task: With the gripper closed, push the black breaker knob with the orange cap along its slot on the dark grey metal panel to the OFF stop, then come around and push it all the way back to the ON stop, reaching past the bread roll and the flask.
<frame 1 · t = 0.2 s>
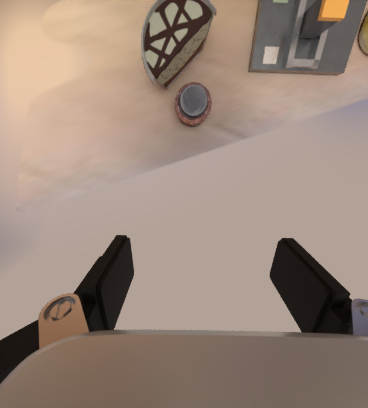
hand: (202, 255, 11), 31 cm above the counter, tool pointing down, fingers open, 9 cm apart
food container: (172, 56, 32), on the counter
panel: (302, 32, 30), on the counter
supplement bottle: (191, 111, 35), on the counter
lever: (321, 15, 26), point 5 cm above the counter, slide at 0.0 cm
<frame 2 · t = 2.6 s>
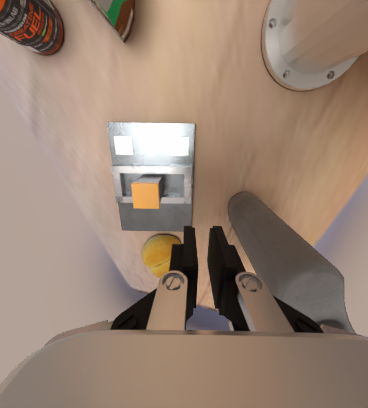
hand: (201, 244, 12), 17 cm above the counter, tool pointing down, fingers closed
bread roll: (166, 251, 34), on the counter
panel: (155, 181, 28), on the counter
supplement bottle: (42, 27, 21), on the counter
lever: (150, 189, 23), point 5 cm above the counter, slide at 0.0 cm
flask: (251, 227, 31), on the counter
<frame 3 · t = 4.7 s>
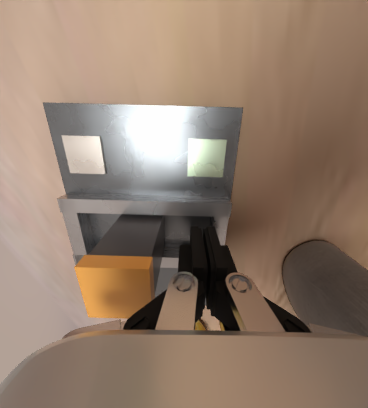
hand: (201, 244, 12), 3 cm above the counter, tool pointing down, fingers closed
panel: (153, 219, 15), on the counter
lever: (134, 254, 11), point 5 cm above the counter, slide at 0.4 cm, touching gripper
flask: (316, 292, 18), on the counter
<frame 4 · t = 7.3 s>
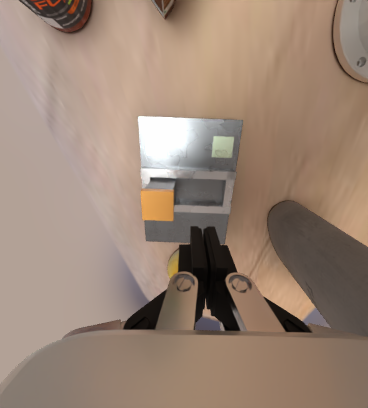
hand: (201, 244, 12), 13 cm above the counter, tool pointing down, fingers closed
bread roll: (193, 264, 30), on the counter
panel: (187, 186, 24), on the counter
lever: (161, 196, 20), point 5 cm above the counter, slide at 3.0 cm
flask: (290, 239, 27), on the counter
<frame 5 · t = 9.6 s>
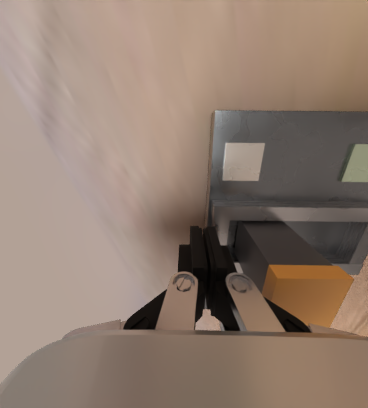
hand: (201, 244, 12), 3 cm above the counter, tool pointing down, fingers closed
panel: (274, 224, 15), on the counter
lever: (274, 261, 10), point 5 cm above the counter, slide at 2.2 cm, touching gripper
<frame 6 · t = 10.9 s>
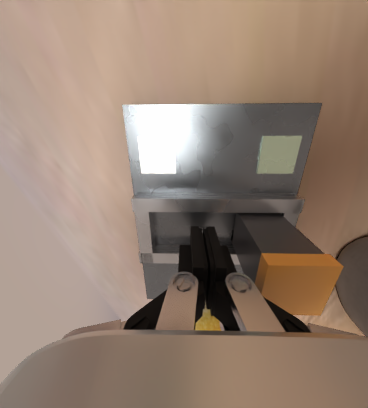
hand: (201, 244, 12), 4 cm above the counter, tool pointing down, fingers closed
bread roll: (217, 319, 21), on the counter
panel: (210, 217, 15), on the counter
lever: (269, 251, 11), point 5 cm above the counter, slide at -3.2 cm, touching gripper, panel
flask: (366, 288, 18), on the counter
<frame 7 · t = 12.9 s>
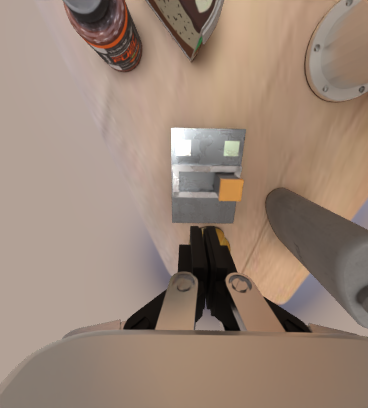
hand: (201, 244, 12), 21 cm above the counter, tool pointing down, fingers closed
food container: (185, 13, 23), on the counter
bread roll: (208, 243, 37), on the counter
panel: (204, 178, 32), on the counter
supplement bottle: (122, 49, 25), on the counter
lever: (226, 185, 27), point 5 cm above the counter, slide at -3.0 cm
flask: (284, 219, 35), on the counter
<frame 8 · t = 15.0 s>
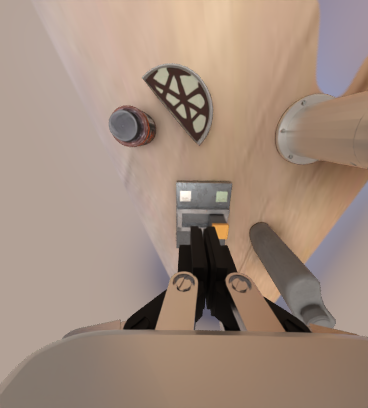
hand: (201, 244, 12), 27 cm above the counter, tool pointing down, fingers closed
food container: (187, 107, 33), on the counter
panel: (201, 215, 41), on the counter
supplement bottle: (142, 129, 34), on the counter
lever: (217, 225, 37), point 5 cm above the counter, slide at -3.0 cm
flask: (264, 245, 44), on the counter
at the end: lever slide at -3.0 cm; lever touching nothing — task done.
